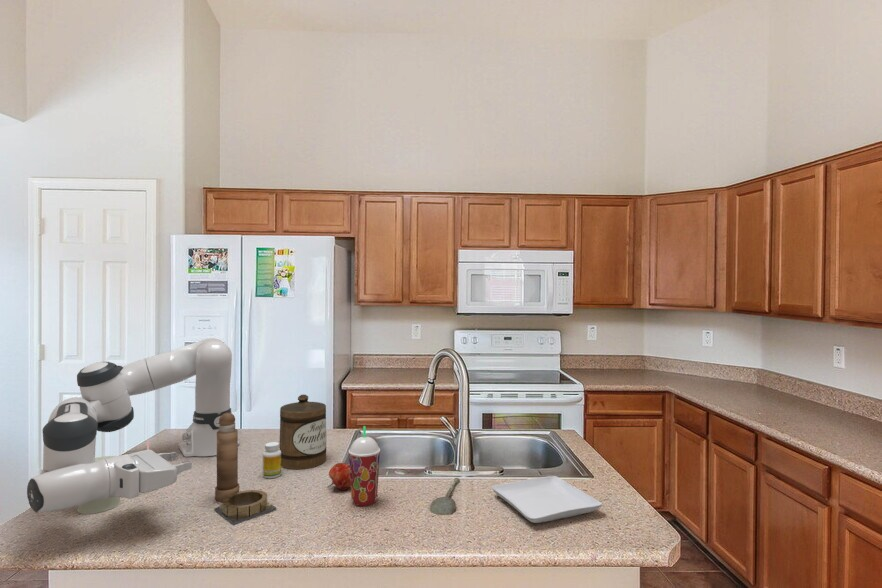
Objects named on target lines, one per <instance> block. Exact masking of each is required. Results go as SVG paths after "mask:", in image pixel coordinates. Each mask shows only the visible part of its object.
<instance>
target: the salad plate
mask: <svg viewBox="0 0 882 588" xmlns="http://www.w3.org/2000/svg"><path fill="white" fill-rule="evenodd" d="M491 489H492V490H493V492H494V493H495V494H496V495H498V496H499V497H500V498H501V499H502V500H503V501H505V502H506V503H507V504H509V505H510V506H511V507H512V508H514V509H515V510H516V511H517V512H519V513H520V514H521V516H523V517H524V518H525V519H527V521H529V522H530V523H534V524H539V523H547V522H552V521H556V520H561V519H562V520H563V519H565V518H572V517H576V516H580V515H582V514H589V513H592V512H594V511H596V510H598V509H600V508H601V507H602V506H603V503H602V502H601V501H599V500H597V499H596V498H595V497H593V496H591V495H589V494H588V493H586V492H584V491H583V490H580V489H578V488H577V487H575V486H574V485H573V484H570V483H569V482H567V481H566V480H564V479H563V478H560V477H559V476H556V475H548V476H541V477H534V478H529V479H522V480H517V481H516V480H515V481H510V482H506V483H499V484H494V485H491Z"/></svg>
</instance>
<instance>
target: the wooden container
mask: <svg viewBox="0 0 882 588" xmlns="http://www.w3.org/2000/svg"><path fill="white" fill-rule="evenodd" d="M297 400H298V401H296V402H291V403H287V404H284V405H282V406H280V408H279V417H280V419H279V448H278V449H279V450H280V451H281V468H284V469H289V470H307V469H312V468H315V467H318V466H320V465H322V464H324V463H325V462H326V460H327V406H326V404H325V403H323V402H318V401H309V396H308V395H307V394H300V395H299V396H297ZM306 468H307V469H306Z"/></svg>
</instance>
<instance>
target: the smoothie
mask: <svg viewBox="0 0 882 588" xmlns="http://www.w3.org/2000/svg"><path fill="white" fill-rule="evenodd" d="M362 427H363V428H362V431H363V433H362V436H360V437H359V436H358V438H356V439H355V440H354V441H352V444H351V446H350V448H349V449H348V461H349V462H348V463H349V464H348V465H349V466H350V482H351V486H350V495H351V496H350V497H351V500H352V502H353V504H354V505H356V506H360V507H366V506H370V505H372V504H374V503H375V502H376V499H377V498H378V490H379V475H380V474H379V473H380V472H379V471H380V455H381V448H380V447H379V445H378V443H377V441H376V440H375V439H374V438H373V437H371V436H366V435H367V434H366V433H367V432H366V430H367V429H366V426H365V425H363V426H362Z"/></svg>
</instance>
